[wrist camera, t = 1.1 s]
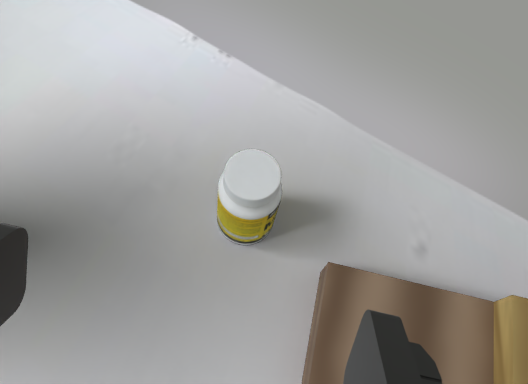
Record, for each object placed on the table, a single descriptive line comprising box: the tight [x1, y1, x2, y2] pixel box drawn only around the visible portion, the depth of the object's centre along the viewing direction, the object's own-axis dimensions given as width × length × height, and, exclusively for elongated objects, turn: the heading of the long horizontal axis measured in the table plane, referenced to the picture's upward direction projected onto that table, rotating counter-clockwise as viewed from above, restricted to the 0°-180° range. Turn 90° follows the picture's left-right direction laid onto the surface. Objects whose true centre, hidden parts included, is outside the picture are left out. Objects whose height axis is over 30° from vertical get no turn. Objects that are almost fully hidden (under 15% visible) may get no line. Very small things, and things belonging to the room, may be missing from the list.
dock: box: [302, 262, 528, 384], centre depth 33 cm, size 14×10×5 cm
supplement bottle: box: [217, 149, 282, 245], centre depth 35 cm, size 5×5×8 cm
